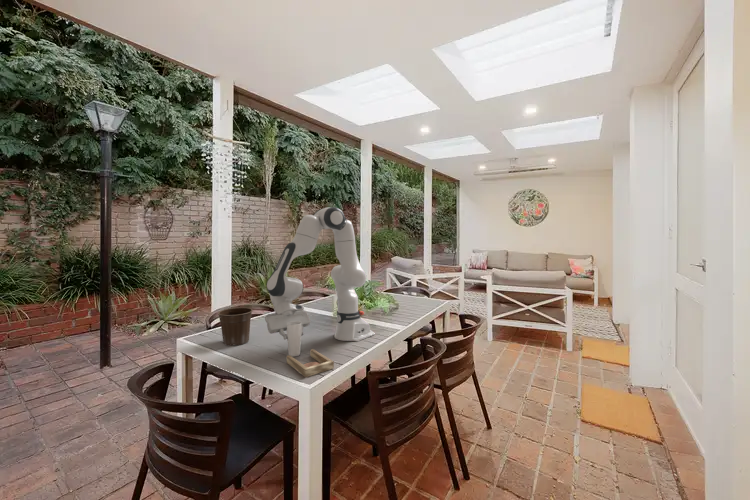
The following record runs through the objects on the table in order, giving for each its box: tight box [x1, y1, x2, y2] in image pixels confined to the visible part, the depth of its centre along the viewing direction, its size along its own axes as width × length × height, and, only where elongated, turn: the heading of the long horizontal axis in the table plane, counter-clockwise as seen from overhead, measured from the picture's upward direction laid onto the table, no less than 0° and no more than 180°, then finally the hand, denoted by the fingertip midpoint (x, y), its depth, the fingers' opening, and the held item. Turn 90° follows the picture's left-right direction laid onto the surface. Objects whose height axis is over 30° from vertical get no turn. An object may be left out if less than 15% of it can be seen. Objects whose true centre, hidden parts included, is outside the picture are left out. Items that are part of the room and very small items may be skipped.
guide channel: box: [286, 348, 335, 378], centre depth 134 cm, size 13×18×3 cm
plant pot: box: [217, 307, 253, 347], centre depth 161 cm, size 16×16×16 cm
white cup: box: [286, 321, 302, 358], centre depth 145 cm, size 7×7×15 cm
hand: (294, 336), depth 145 cm, fingers closed on white cup, 6 cm apart
